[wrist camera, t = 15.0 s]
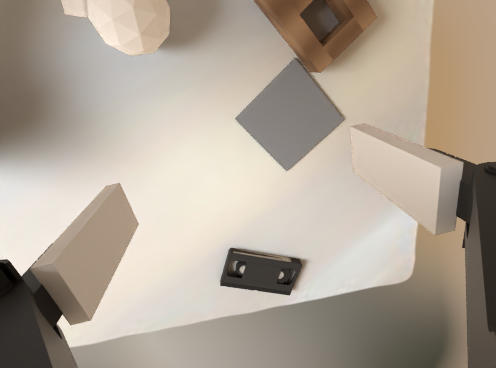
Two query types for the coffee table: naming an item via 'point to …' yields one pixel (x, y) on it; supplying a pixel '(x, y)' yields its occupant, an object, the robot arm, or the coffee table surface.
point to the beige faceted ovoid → (126, 22)
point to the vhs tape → (260, 271)
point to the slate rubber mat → (290, 116)
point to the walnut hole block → (302, 38)
